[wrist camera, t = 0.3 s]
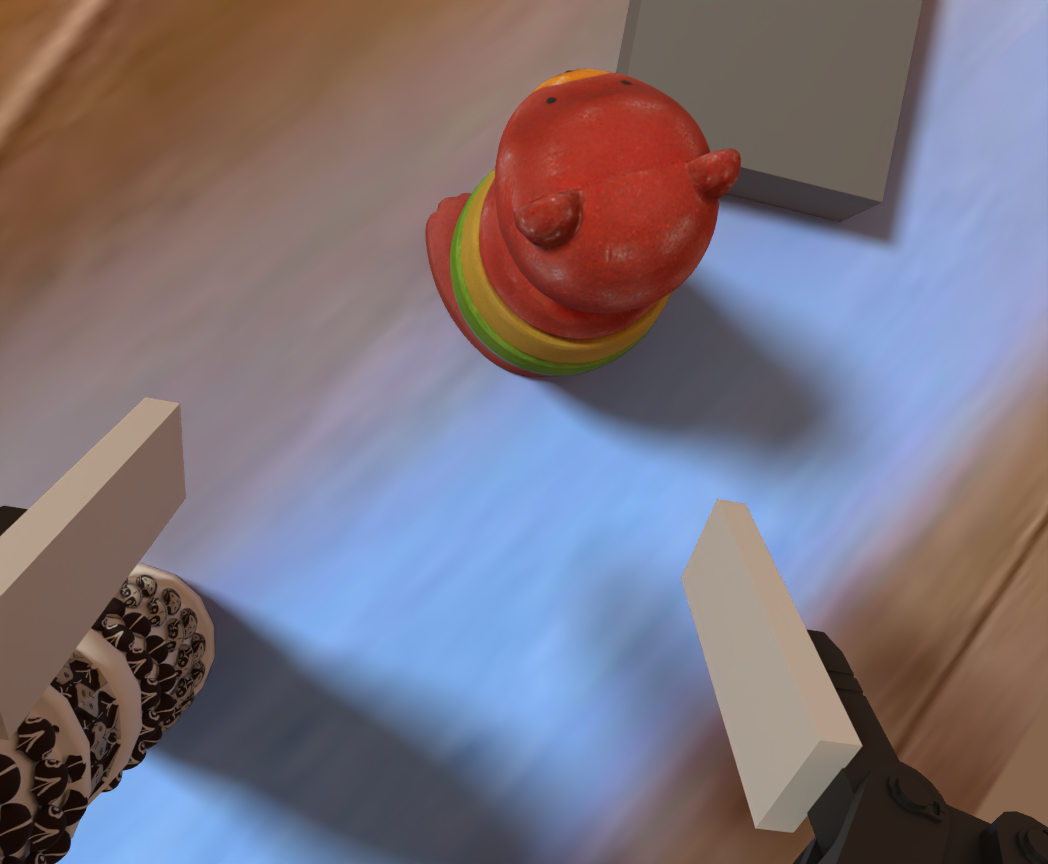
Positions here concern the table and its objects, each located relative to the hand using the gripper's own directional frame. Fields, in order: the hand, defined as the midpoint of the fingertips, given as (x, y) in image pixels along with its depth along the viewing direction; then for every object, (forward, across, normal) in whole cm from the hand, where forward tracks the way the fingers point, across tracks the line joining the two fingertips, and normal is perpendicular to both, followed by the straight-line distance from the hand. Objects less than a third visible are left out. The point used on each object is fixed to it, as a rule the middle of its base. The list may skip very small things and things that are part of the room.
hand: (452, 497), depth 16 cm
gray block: (+28, -12, -11) cm, 32 cm away
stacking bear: (+21, -3, +1) cm, 21 cm away
